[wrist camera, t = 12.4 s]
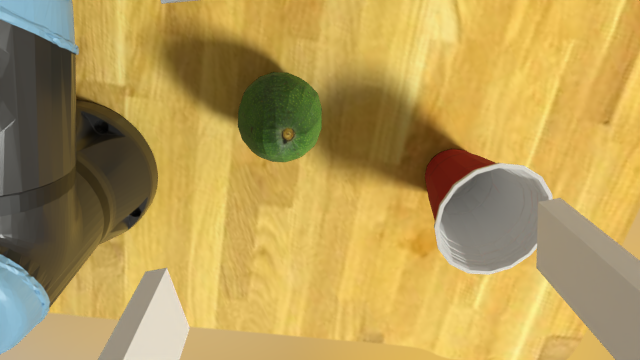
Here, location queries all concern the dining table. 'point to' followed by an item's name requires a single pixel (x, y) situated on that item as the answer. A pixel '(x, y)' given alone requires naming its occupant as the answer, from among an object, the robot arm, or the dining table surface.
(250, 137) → the avocado
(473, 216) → the plastic cup
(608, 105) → the dining table surface
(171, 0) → the board
